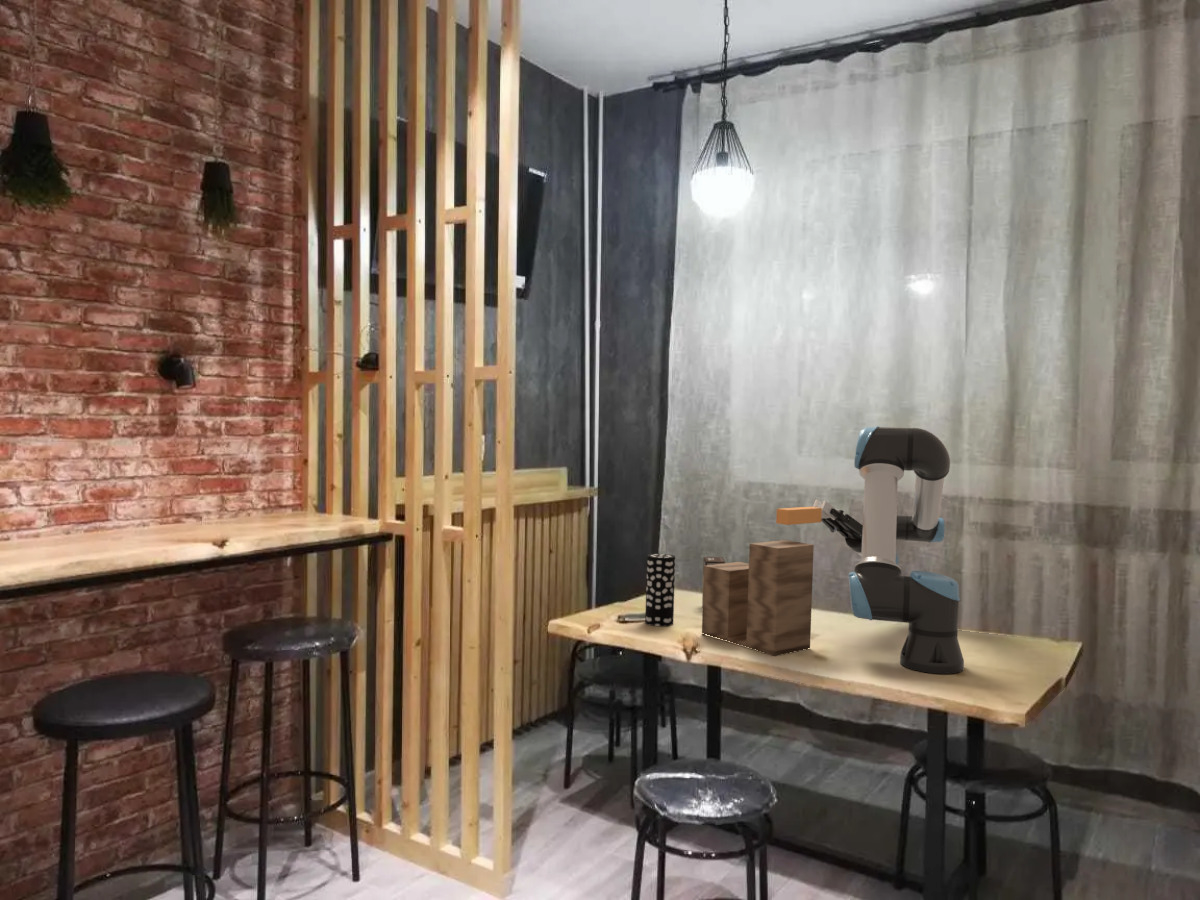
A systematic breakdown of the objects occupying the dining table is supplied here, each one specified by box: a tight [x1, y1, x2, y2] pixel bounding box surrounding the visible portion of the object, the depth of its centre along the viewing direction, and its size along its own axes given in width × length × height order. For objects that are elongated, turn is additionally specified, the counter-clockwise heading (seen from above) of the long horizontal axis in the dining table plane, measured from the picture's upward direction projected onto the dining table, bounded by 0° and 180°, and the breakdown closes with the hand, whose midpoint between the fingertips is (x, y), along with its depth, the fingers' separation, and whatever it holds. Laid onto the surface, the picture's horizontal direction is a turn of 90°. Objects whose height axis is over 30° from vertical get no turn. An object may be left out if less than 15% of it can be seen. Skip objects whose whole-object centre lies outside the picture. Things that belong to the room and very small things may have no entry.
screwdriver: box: [775, 506, 841, 526], centre depth 258 cm, size 24×4×4 cm, turn 127°
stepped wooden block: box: [701, 539, 815, 657], centre depth 252 cm, size 27×14×28 cm, turn 38°
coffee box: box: [701, 556, 726, 607], centre depth 293 cm, size 9×6×16 cm
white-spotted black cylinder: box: [644, 553, 676, 627], centre depth 271 cm, size 8×8×20 cm
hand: (819, 504), depth 259 cm, fingers closed on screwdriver, 2 cm apart
